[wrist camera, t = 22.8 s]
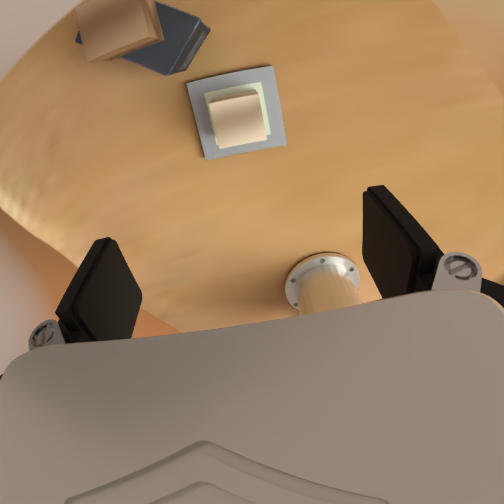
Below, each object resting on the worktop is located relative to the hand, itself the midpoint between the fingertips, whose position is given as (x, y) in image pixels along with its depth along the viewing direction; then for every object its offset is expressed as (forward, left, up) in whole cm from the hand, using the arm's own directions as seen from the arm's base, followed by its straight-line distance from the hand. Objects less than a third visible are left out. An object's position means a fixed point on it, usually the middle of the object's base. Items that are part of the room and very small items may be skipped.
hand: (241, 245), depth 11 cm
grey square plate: (0, 0, -28) cm, 28 cm away
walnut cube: (+12, +7, -18) cm, 23 cm away
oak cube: (0, 0, -27) cm, 27 cm away
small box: (+12, +7, -29) cm, 32 cm away
